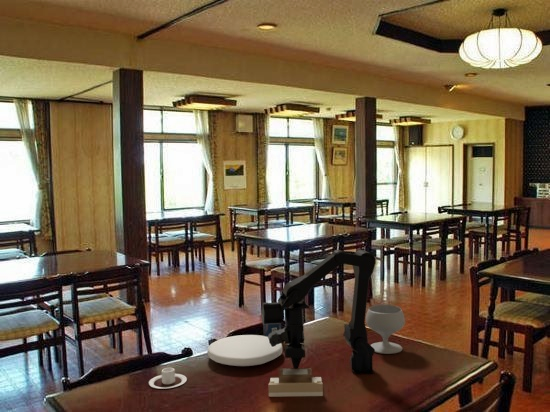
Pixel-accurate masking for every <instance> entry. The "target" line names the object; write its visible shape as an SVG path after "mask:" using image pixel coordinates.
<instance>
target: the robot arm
mask: <svg viewBox="0 0 550 412" xmlns="http://www.w3.org/2000/svg"><path fill="white" fill-rule="evenodd" d="M376 262H377V261H376V257H375V255H374V254H373V253H370V252H369V251H366V250H364V249H358V250H356V251H353V250H352V251H351V250H340V249H335V250H334V251H332V252H331V254H330V255H328V256H327V257H326V258H324V259H323V260H322V261H321V262H319V263H317V265H315V266H314V267H313V268H312V269H310V270H309V271H308V272H306V273H305V274H303V275H302V276H298V277H297V278H294V279H292V280H290V281H289V282H287V283H285V285H284V286H283V292H282V293H281V295H280V296H279V298H278V299H277V302H262V307H261V321H262V322H261V323H262V326H263V325H267V324H280V323H281V324H282V323H283V322H285V324H284V328H281V329H280V330H277V331H275V332H272V333H270V334H269V335H268V339H269V343H270V344H271V346H272V347H274V346H276V345H277V344H280V343H281V344H283V343H284V345H285V348H284V357H285V358H287V359H291V362H292V369H293V368H299V367H300V364H301V361H302V359H303V358H306V347H305V344H304V343H305V332H304V328H305V327H304V309H310V306H309V304H308V303H306V302H305V300H304V299H305V297H306V296H307V295H309V292H310V291H311V290H312V288H313V287H314V286H315V285H316V284H318V283H319V282H320V281H321V280H322V279H324V278H325V277H327V276H328V275H329V274H330V273H332V272H333V271H334V270H336V268H337V267H339V266H341V265H349V266H352V269H353V270H352V271H353V274H354V283H353V284H354V286H353V296H352V306H351V317H350V321H349V323H344V326H343V327H344V330H343V334H342V336H343V337H344V340H345V342H346V344H347V345H349V347H350V348H351V349H352V350H351V352H352V353H351V354H352V355H350V369H351V371H352V372H353V374H354V375H359V374H360V375H362V374H366V375H367V374H369V375H370V374H372V375H373V374H374V373H375V371H374V369H373V365H374V364H373V356H375V355H374V354H375V353H376V352H375V349H374V348H373V347H372V346H371V344H370V343H368V341H369V340H368V331H367V327H366V326H367V325H366V315H367V303H368V291H369V281H370V279H371V277H372V275H373V273H374V270H375V266H376ZM284 320H285V321H284Z"/></svg>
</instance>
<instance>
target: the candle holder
mask: <svg viewBox="0 0 550 412" xmlns="http://www.w3.org/2000/svg"><path fill="white" fill-rule="evenodd" d="M176 378H178V379H180V381H181V382H179V383H177V384H175V382H176ZM159 379H161V383H162V384H163V385H171V384H172V386H157V385H155V382H157V380H159ZM187 380H188V377H186V376H185V375H184V374H181V373H176V370H175V368H173V367H165V368H163V369H161V373H160V375H157V376H154V377H153V378H151V379H149V381H148V385H149V386H150V387H151V388H153V389H161V390H162V389H163V390H164V389H165V390H166V389H172V388H177V387H179V386H182V385H184V384H185V383H186V382H187ZM173 384H175V385H173Z"/></svg>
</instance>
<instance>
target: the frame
mask: <svg viewBox="0 0 550 412" xmlns="http://www.w3.org/2000/svg"><path fill="white" fill-rule="evenodd" d="M312 377H313V374H312V368H311V367H307V368H306V367H305V368H304V367H303V368H299V367H298V368H293V367H292V368H279V369H278V378H279V383H312Z"/></svg>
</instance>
